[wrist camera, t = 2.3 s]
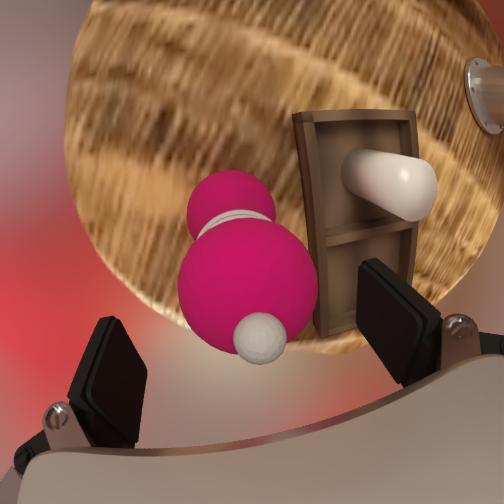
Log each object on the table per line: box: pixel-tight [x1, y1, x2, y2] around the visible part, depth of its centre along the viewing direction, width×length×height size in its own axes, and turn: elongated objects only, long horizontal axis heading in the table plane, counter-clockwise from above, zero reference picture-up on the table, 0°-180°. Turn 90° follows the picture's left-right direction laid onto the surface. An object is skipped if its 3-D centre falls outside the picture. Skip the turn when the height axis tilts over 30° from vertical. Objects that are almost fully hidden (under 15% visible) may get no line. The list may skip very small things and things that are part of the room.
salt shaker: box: [340, 148, 437, 222], centre depth 21 cm, size 5×5×9 cm
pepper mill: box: [178, 170, 318, 365], centre depth 17 cm, size 7×7×20 cm
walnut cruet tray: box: [292, 109, 419, 338], centre depth 27 cm, size 13×25×3 cm, turn 10°
